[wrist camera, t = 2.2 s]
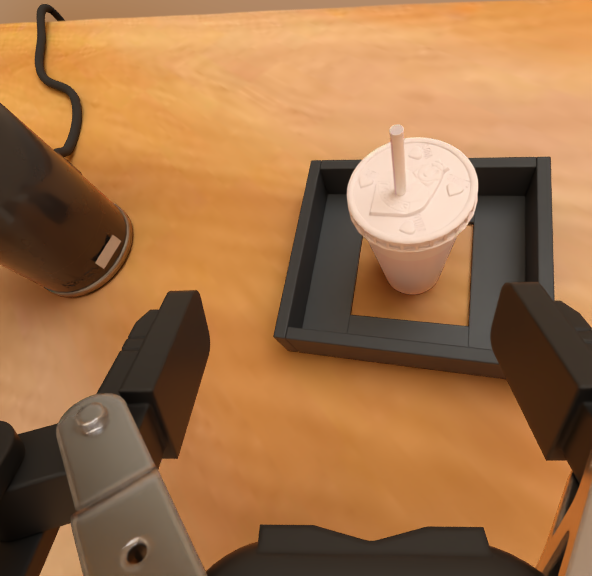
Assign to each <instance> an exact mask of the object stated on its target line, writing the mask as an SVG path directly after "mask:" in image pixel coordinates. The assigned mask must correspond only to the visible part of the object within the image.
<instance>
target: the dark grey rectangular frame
mask: <svg viewBox="0 0 592 576" xmlns="http://www.w3.org/2000/svg"><path fill="white" fill-rule="evenodd" d="M468 159H469V160H470V162H471V163H472V165H473V167H474V169H475V171H476V174H477V178H478V194H477V197H478V201H477V205H476V209H475V212H474V215H473V217H472V218H471V220H470V221H469V223H468V224H474V227H473V248H472V268H471V289H470V310H469V326H459V325H449V324H439V323H429V322H419V321H408V320H398V319H388V318H378V317H368V316H357V315H351V309H352V303H353V296H354V290H355V283H356V276H357V270H358V263H359V257H360V250H361V244H362V237H363V236H362V235H361V234H360V233H359V232H358V231H357V229H356V227H355V226H354V224H353V222H352V221H351V218H350V213H349V209H348V202H347V188H348V183H349V180H350V177H351V175H352V173H353V171H354V170H355V168H356V167H357V165H358V164H359V163H360V162H361V161H362V160H322V161H321V160H315V161H311V164H310V169H309V174H308V178H307V183H306V188H305V192H304V197H303V202H302V206H301V211H300V215H299V220H298V225H297V229H296V234H295V239H294V243H293V248H292V253H291V257H290V262H289V267H288V271H287V276H286V280H285V285H284V290H283V294H282V299H281V304H280V308H279V313H278V318H277V322H276V327H275V331H274V338H275V339H276V340H277V341H278V342H279V343H280V344H282V345H283V346H284V347H285V348H286V349H287V350H288V351H294V352H302V353H309V354H317V355H325V356H332V357H340V358H348V359H355V360H363V361H371V362H378V363H386V364H394V365H401V366H409V367H417V368H424V369H432V370H440V371H447V372H455V373H463V374H470V375H478V376H486V377H493V378H501V379H506V377H505V375H504V373H503V371H502V369H501V367H500V365H499V363H498V361H497V359H496V357H495V355H494V353H493V350H492V346H491V340H490V332H491V326H492V322H493V318H494V315H495V311H496V307H497V303H498V299H499V295H500V291H501V288H502V286H503V285H504V284H505V283H512V282H538V283H540V284H541V285H542V286H543V288H544V289H545V290H546V292H547V293H548V294H549V296H550V297H551V298H552V299H553V301H554V265H553V227H552V188H551V157H537V158H536V157H505V158H468Z"/></svg>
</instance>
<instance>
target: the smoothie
mask: <svg viewBox="0 0 592 576" xmlns="http://www.w3.org/2000/svg"><path fill="white" fill-rule="evenodd" d="M477 194H478V178H477V174H476V171H475V169H474V167H473V165H472V163H471V162H470V160H469V159H468V158H467V157H466V156H465V155H464V154H463V153H462V152H461V151H460V150H458V149H457V148H455V147H454V146H452V145H450V144H448V143H445V142H443V141H440V140H436V139H431V138H422V137H413V138H405V139H404V128H403V126H401V125H398V124H397V125H393V126H392V127H391V128H390V142H389V143H387V144H384V145H382V146H380V147H378V148H377V149H375V150H374V151H372V152H371V153H369V154H368V155H367V156H366V157H365V158H364V159H363V160H362V161H361V162H360V163H359V164H358V165H357V167H356V168H355V170H354V171H353V173H352V175H351V177H350V180H349V183H348V188H347V202H348V209H349V213H350V218H351V221H352V222H353V224H354V226H355V227H356V229H357V231H358V232H359V233H360V234H361V235H362V236H363V237H364V238H366V239H367V240H368V242H369V244H370V246H371V248H372V250H373V252H374V254H375V256H376V258H377V260H378V262H379V264H380V266H381V268H382V270H383V272H384V274H385V276H386V278H387V280H388V282H389V284H390V285H391V286H392V287H393V288H394V289H396V290H397V291H399V292H401V293H405V294H420V293H423V292H426V291H428V290H429V289H431V288H432V287H433V286H434V285H435V284H436V282H437V281H438V278H439V276H440V274H441V272H442V269H443V267H444V265H445V262H446V260H447V258H448V256H449V253H450V251H451V249H452V246H453V244H454V242H455V240H456V237H457V235H458V234H459V233H460V232H462V231H463V230H464V229H465V228H466V226H467V225H468V223H469V221H470V220H471V218H472V217H473V215H474V212H475V209H476V205H477V201H478V197H477Z"/></svg>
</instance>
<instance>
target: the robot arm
mask: <svg viewBox="0 0 592 576" xmlns="http://www.w3.org/2000/svg"><path fill="white" fill-rule="evenodd" d="M46 12H48V13H50V14H51V15H52V16H53V17H54V18H55V19H56V20H57V21H65V20H64V18H63V17H62V16H61V15H60V14H59V13H58V12H57V11H56V10H55V9H54V8H53V7H51V6H50V5H47V4H42V5H40V6H39V8H38V10H37V44H36V51H35V67H36V72H37V75H38V77H39V78H40V80H41V81H42V82H43V83H44V84H46V85H47V86H49V87H52V88H54V89H57V90H60V91H62V92H64V93H66V94H67V95H68V96H69V98H70V100H71V103H72V124H71V129H70V132H69V135H68V138H67V140H66V143H65V144H64V146H63V147H62V148H56V149H54V150H53V149H52V148H51V147H50V146H48V145H47V144H46V143H45V142H44V141H43V140H42V139H41V138H39V137H38V136H37V135H36V134H35V133H34V132H33V131H32V130H30V129H29V128H28V127H27V126H26V125H25V124H24V123H23V122H21V121H20V120H19V119H18V118H17V117H16V116H15V115H14V114H12V113H11V112H10V111H9V110H8V109H7V108H6V107H5V106H3V105H2V104H1V103H0V265H2V266H4V267H6V268H8V269H10V270H12V271H14V272H16V273H18V274H19V275H21V276H23V277H25V278H27V279H29V280H31V281H33V282H35V283H37V284H39V285H41V286H43V287H44V288H46V289H47V290H49V291H51V292H53V293H55V294H57V295H59V296H63V297H78V296H82V295H85V294H88V293H91V292H93V291H95V290H96V289H98V288H100V287H101V286H103V285H104V284H105V283H107V282H108V281H109V280H110V279H111V278H112V277H113V276H114V275H115V274H116V273H117V272H118V270H119V269H120V268H121V266H122V265H123V263H124V262H125V260H126V258H127V256H128V253H129V251H130V248H131V244H132V238H133V230H132V224H131V221H130V219H129V217H128V216H127V214H126V213H125V212H124V211H123V210H122V209H121V208H120V207H119V206H117V205H116V204H114V203H112V202H111V201H110V200H109V199H108V198H107V197H105V196H104V195H103V194H102V193H101V192H100V191H99V190H98V189H97V188H96V187H95V186H93V185H92V184H91V183H90V182H89V181H88V180H87V179H86V178H84V177H83V176H82V174H81V172H80V171H78V170H77V169H76V168H75V167H74V166H73V165H72V164H71V163H70V162H68V161H67V160H66V159H65V158H64V157H66V156H68V155H70V154H71V153H72V151H73V150H74V148H75V145H76V143H77V140H78V137H79V133H80V129H81V121H82V111H81V104H80V100H79V97H78V95H77V93H76V92H75V91H74V90H73V89H72V88H71V87H70V86H68V85H66V84H64V83H61V82H59V81H56V80H53V79H51V78H49V77H48V76H47V75H46V73H45V70H44V66H43V60H44V51H45V42H46V33H45V13H46ZM490 340H491V346H492V350H493V353H494V355H495V357H496V359H497V361H498V363H499V365H500V367H501V369H502V371H503V373H504V375H505V377H506V379H507V381H508V383H509V385H510V387H511V389H512V392H513V394H514V396H515V398H516V400H517V402H518V404H519V406H520V408H521V410H522V412H523V414H524V416H525V418H526V420H527V422H528V424H529V426H530V428H531V430H532V432H533V435H534V437H535V439H536V441H537V443H538V445H539V447H540V449H541V451H542V453H543V455H544V457H545V459H546V460H567V461H568V463H569V465H570V467H571V469H572V471H571V473H570V475H569V477H568V479H567V482H566V485H565V488H564V491H563V494H562V497H561V500H560V503H559V506H558V509H557V512H556V515H555V518H554V521H553V524H552V527H551V530H550V533H549V536H548V539H547V542H546V545H545V548H544V550H543V553H542V555H541V557H540V559H539V562H538V564H537V566H536V568H534V567H533V566H531V565H530V564H528V563H527V562H525V561H523V560H521V559H519V558H517V557H515V556H514V555H512V554H510V553H507V552H505V551H502V550H500V549H497V548H495V547H491V546H489V544H488V541H487V537H486V534H485V531H484V528H483V527H424V528H420V529H416V530H413V531H409V532H406V533H402V534H398V535H395V536H391V537H387V538H384V539H380V540H376V541H367V540H363V539H359V538H356V537H352V536H349V535H345V534H342V533H339V532H335V531H332V530H328V529H325V528H321V527H318V526H314V525H260V530H259V539H258V542H255V543H251V544H248V545H246V546H244V547H241V548H239V549H237V550H235V551H233V552H231V553H230V554H228V555H226V556H225V557H223V558H222V559H221V560H219V561H218V562H217V563H215V564H214V565H213V566H211V567H210V568H209V569H208V570H207V571H206V572H205V569H204V567H203V565H202V563H201V561H200V559H199V557H198V554H197V552H196V550H195V548H194V546H193V544H192V542H191V539H190V537H189V535H188V533H187V531H186V529H185V527H184V524H183V522H182V520H181V518H180V516H179V514H178V512H177V509H176V507H175V505H174V503H173V501H172V499H171V497H170V494H169V492H168V490H167V488H166V486H165V484H164V482H163V479H162V477H161V475H160V473H159V471H158V468H159V465H160V462H161V460H162V459H178V456H179V453H180V449H181V446H182V443H183V439H184V436H185V433H186V429H187V426H188V423H189V419H190V416H191V413H192V409H193V406H194V403H195V399H196V396H197V393H198V389H199V386H200V383H201V379H202V376H203V373H204V369H205V366H206V363H207V360H208V356H209V351H210V336H209V331H208V326H207V322H206V318H205V314H204V309H203V305H202V301H201V297H200V294H199V292H198V291H197V290H190V291H169V292H168V293H167V295H166V297H165V299H164V301H163V303H162V305H161V307H160V309H159V310H150V311H148V312H147V313H146V314H145V315H144V316H143V317H141V318H140V319H139V320H138V321H137V322H136V323H135V325H134V327H133V329H132V330H131V332H130V334H129V336H128V339H127V340H126V341H125V343H124V345H123V347H122V351H120V352H119V354H118V356H117V358H116V359H115V361H114V363H113V365H112V367H111V369H110V370H109V372H108V374H107V376H106V378H105V379H104V381H103V383H102V385H101V387H100V388H99V390H98V392H97V394H96V395H92V396H89V397H87V398H85V399H83V400H81V401H79V402H77V403H76V404H74V405H73V406H72V407H71V408H69V409H68V410H67V411H66V412H65V414H64V415H63V416H62V417H61V419H60V421H59V423H57V424H54V425H51V426H47V427H43V428H40V429H36V430H32V431H29V432H25V433H21V434H18V435H17V433H16V432H15V430H14V429H13V427H12V426H11V425H10V424H9V423H7V422H4V421H0V576H39V575H40V573H41V570H42V568H43V565H44V563H45V561H46V558H47V556H48V554H49V551H50V549H51V547H52V544H53V542H54V540H55V537H56V535H57V533H58V530H59V528H60V526H63V525H66V524H69V523H71V527H72V531H73V535H74V539H75V544H76V548H77V552H78V556H79V560H80V564H81V568H82V572H83V576H592V328H591V327H590V325H589V324H588V323H587V322H586V321H585V319H584V318H583V317H582V316H581V314H580V313H578V312H577V311H575V310H574V309H572V308H571V307H569V306H568V305H566V304H565V303H563V302H562V301H553V299H552V298H551V297H550V296H549V294H548V293H547V292H546V290H545V289H544V288H543V286H542V285H541V284H540V283H538V282H512V283H505V284H504V285H503V286H502V288H501V291H500V295H499V299H498V303H497V307H496V311H495V315H494V318H493V322H492V326H491V332H490Z"/></svg>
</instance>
